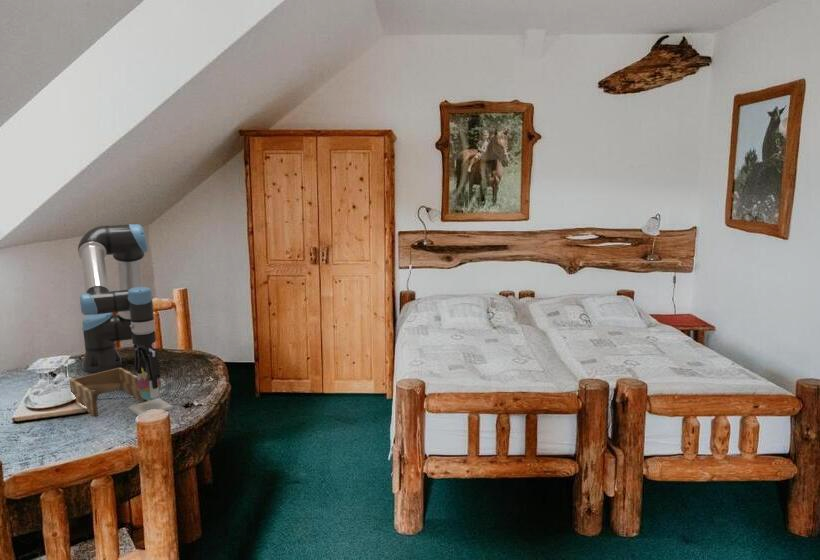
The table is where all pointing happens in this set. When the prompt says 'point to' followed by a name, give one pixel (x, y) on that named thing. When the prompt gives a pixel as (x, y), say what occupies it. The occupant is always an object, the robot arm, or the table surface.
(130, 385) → the brown open-sided frame
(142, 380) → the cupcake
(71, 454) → the table surface
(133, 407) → the plate
